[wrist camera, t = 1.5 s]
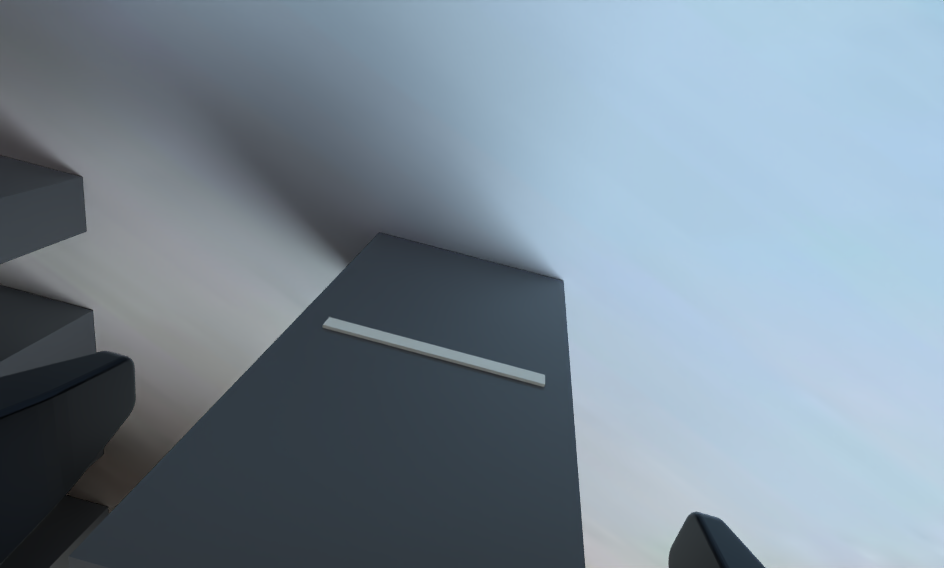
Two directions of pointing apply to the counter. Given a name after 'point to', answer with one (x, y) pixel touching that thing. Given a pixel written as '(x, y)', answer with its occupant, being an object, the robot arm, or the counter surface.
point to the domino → (379, 434)
